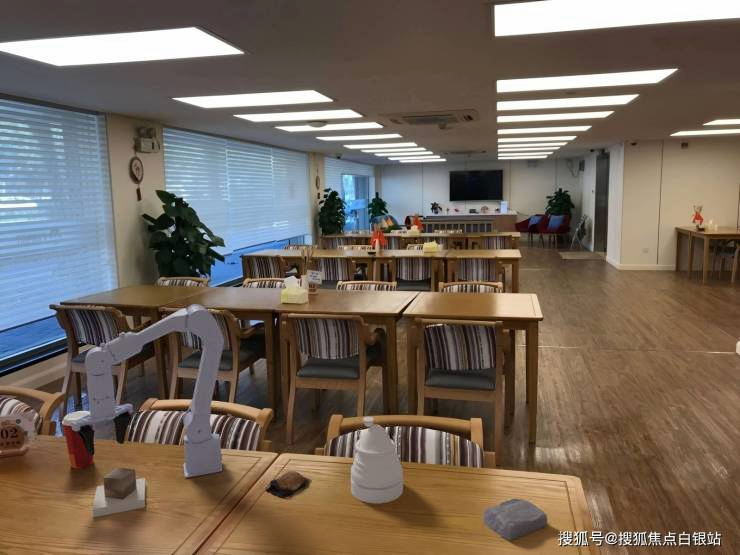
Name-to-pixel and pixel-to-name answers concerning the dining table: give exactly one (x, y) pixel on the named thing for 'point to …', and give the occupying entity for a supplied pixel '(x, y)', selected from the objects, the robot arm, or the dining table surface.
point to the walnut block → (119, 483)
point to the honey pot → (376, 467)
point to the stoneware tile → (119, 500)
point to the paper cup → (76, 442)
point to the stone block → (514, 518)
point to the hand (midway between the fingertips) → (106, 448)
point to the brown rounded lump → (288, 484)
